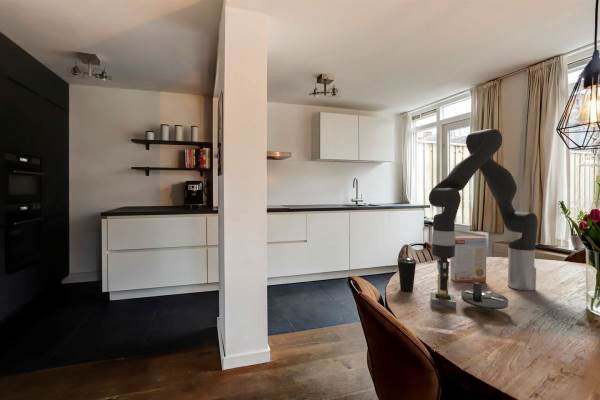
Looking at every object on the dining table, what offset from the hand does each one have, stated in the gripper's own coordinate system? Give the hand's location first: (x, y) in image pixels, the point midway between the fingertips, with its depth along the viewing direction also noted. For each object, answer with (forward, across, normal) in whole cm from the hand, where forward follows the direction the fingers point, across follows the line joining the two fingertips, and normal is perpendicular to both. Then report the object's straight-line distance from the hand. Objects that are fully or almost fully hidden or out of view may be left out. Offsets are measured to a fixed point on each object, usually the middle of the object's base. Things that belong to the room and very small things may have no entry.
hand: (442, 286), depth 109 cm
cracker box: (+8, +39, -13) cm, 42 cm away
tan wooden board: (+8, 0, -8) cm, 11 cm away
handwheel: (+3, 0, -13) cm, 14 cm away
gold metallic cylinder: (+7, 0, 0) cm, 7 cm away
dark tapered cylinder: (+8, +12, +13) cm, 19 cm away
